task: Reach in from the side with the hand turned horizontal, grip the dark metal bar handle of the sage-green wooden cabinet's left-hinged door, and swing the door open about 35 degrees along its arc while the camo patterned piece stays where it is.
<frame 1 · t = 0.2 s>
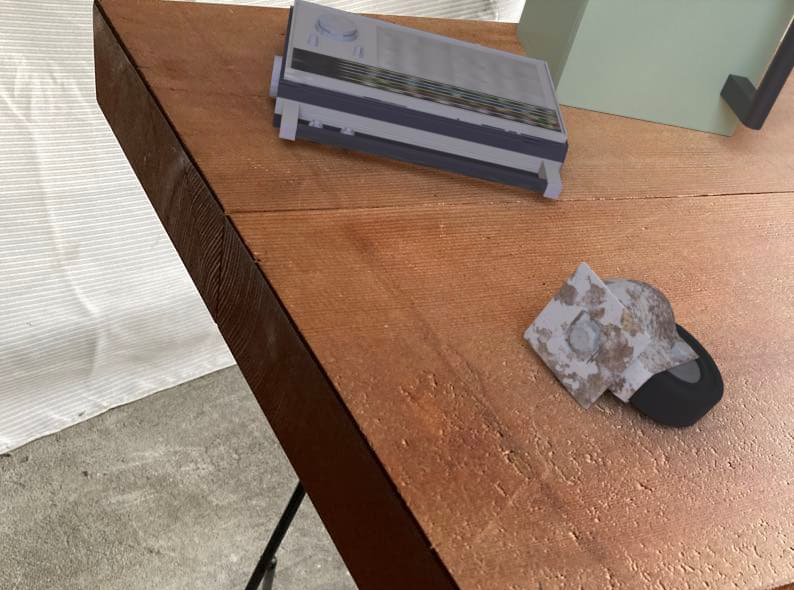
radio: (409, 129, 85), on the table
camo patterned piece: (622, 385, 67), on the table
cabinet door: (704, 20, 88), point 11 cm above the table, hinge at 0.0°
cabinet: (618, 82, 103), on the table
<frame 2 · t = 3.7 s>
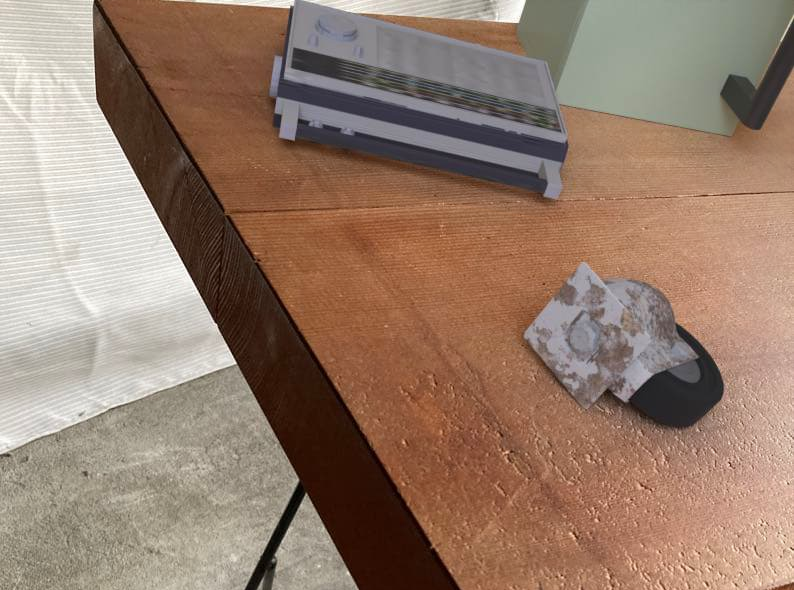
nothing on the table moved.
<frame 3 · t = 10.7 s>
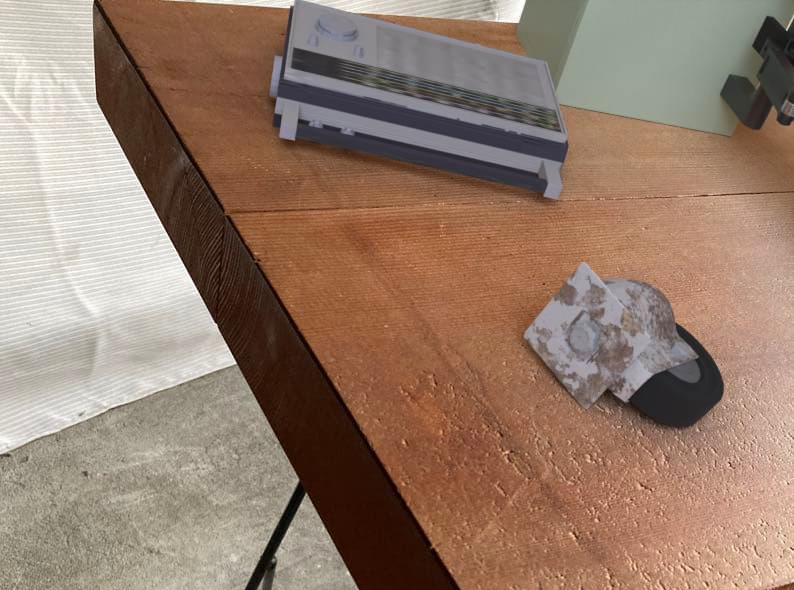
hand: (775, 34, 90), 11 cm above the table, tool horizontal, fingers closed on cabinet door, 2 cm apart
cabinet door: (704, 20, 88), point 11 cm above the table, hinge at 0.0°, touching gripper
everything else where it was.
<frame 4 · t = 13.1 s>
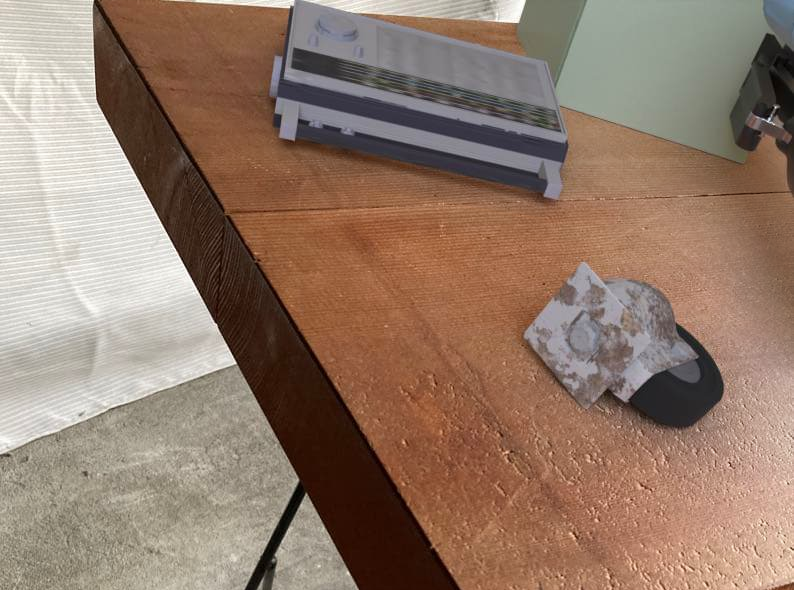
hand: (776, 53, 86), 11 cm above the table, tool horizontal, fingers closed on cabinet door, 2 cm apart
cabinet door: (700, 29, 86), point 11 cm above the table, hinge at 17.1°, touching gripper
everything else where it was.
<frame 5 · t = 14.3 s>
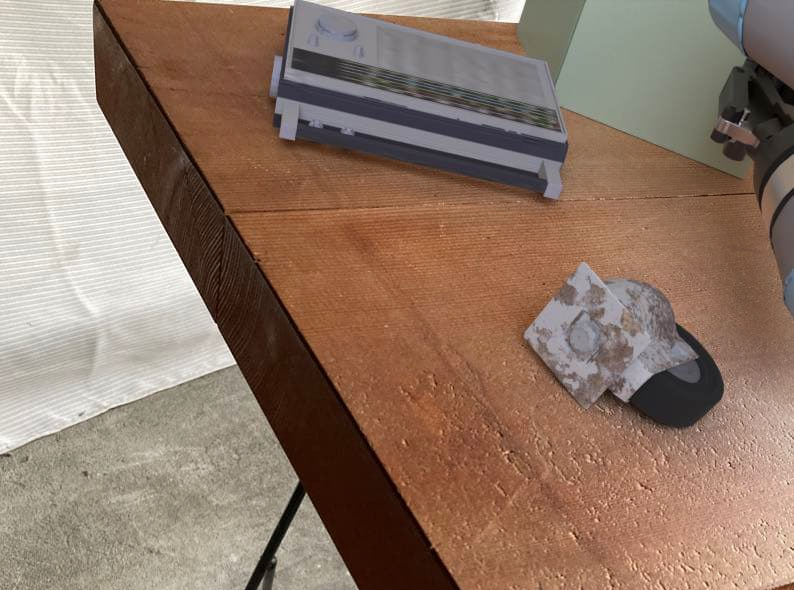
hand: (767, 62, 84), 11 cm above the table, tool horizontal, fingers open, 2 cm apart
cabinet door: (693, 34, 84), point 11 cm above the table, hinge at 27.5°, touching gripper
everything else where it was.
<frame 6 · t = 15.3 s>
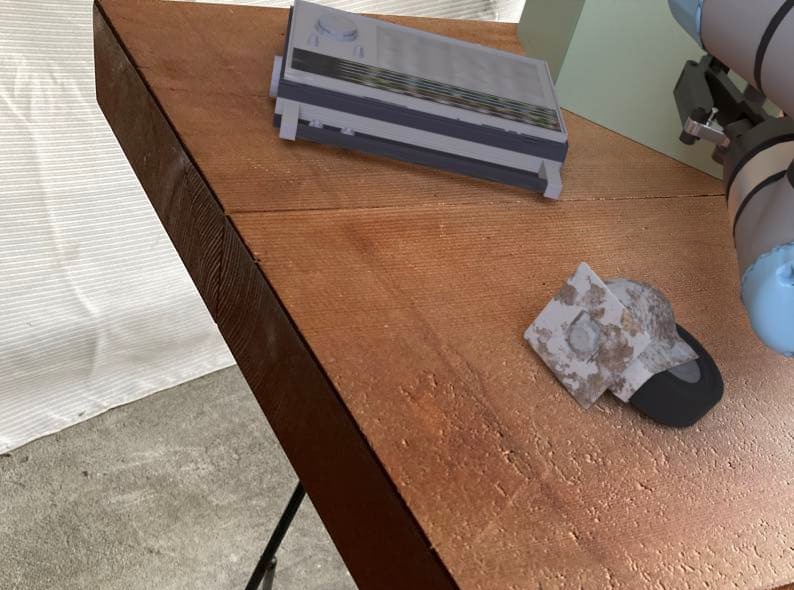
hand: (750, 65, 82), 11 cm above the table, tool horizontal, fingers open, 6 cm apart
cabinet door: (686, 35, 84), point 11 cm above the table, hinge at 34.1°
everything else where it was.
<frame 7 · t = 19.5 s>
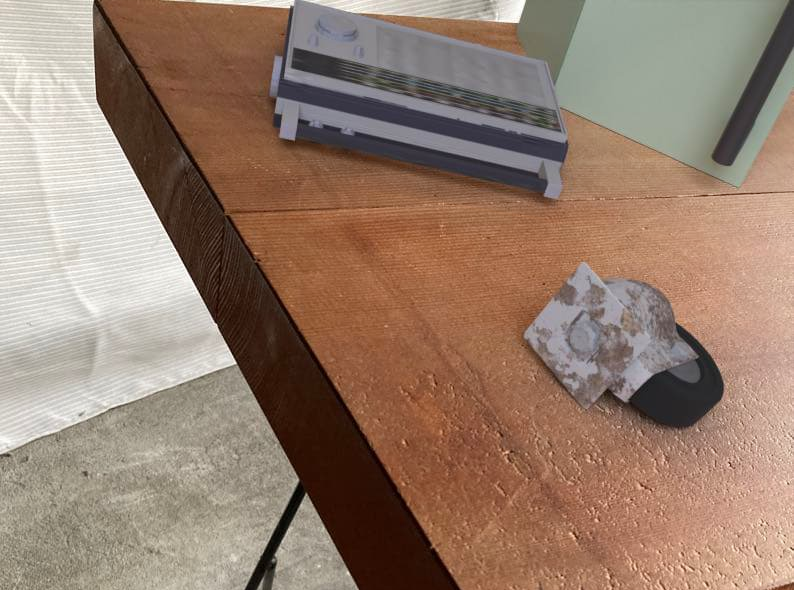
nothing on the table moved.
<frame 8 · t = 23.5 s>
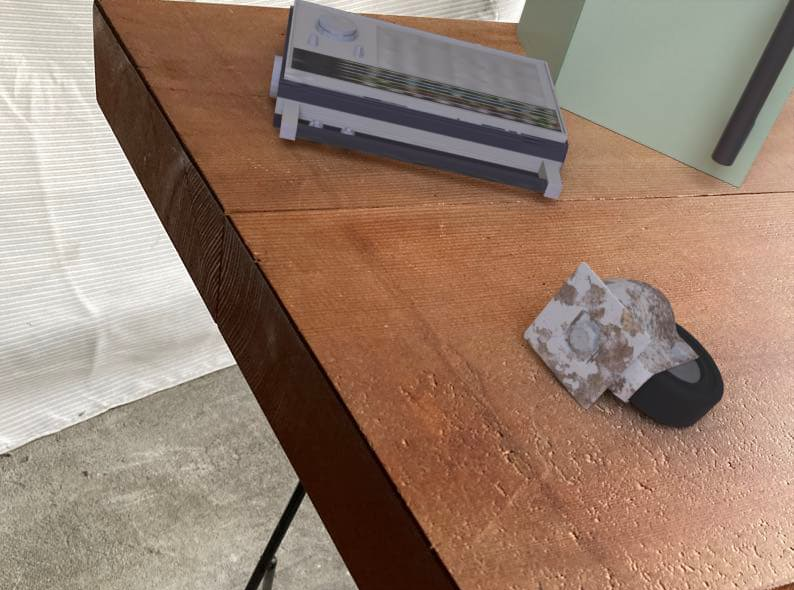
nothing on the table moved.
at the end: cabinet door at +34° (first picture: +0°); camo patterned piece moved 0.2 cm from its start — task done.
